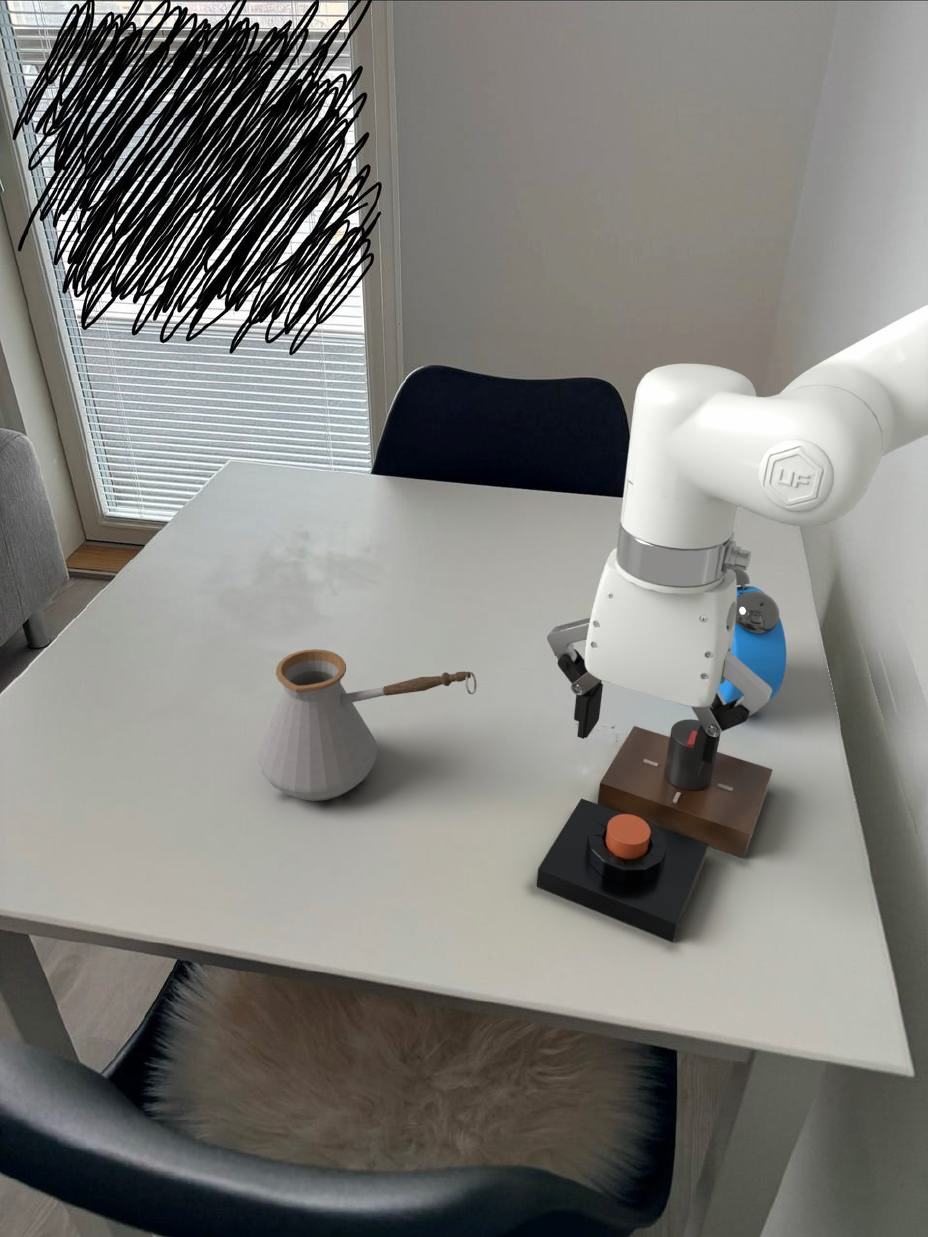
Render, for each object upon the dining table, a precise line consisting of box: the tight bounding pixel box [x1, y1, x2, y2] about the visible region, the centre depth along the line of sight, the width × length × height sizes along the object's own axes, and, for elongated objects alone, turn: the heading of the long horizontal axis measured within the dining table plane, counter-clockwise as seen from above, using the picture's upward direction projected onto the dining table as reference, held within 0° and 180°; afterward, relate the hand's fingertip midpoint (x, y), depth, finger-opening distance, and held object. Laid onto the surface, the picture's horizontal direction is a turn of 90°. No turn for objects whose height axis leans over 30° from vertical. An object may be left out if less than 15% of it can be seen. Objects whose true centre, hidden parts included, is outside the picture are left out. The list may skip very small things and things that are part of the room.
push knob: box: [606, 814, 651, 859], centre depth 74 cm, size 4×4×2 cm
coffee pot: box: [258, 648, 478, 802], centre depth 82 cm, size 21×12×15 cm, turn 76°
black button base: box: [536, 797, 709, 943], centre depth 76 cm, size 12×10×4 cm
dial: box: [664, 718, 721, 790], centre depth 82 cm, size 4×4×5 cm
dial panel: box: [596, 725, 773, 859], centre depth 84 cm, size 14×10×3 cm
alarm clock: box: [718, 568, 787, 704], centre depth 96 cm, size 13×6×15 cm, turn 11°
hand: (641, 746), depth 69 cm, fingers open, 8 cm apart
